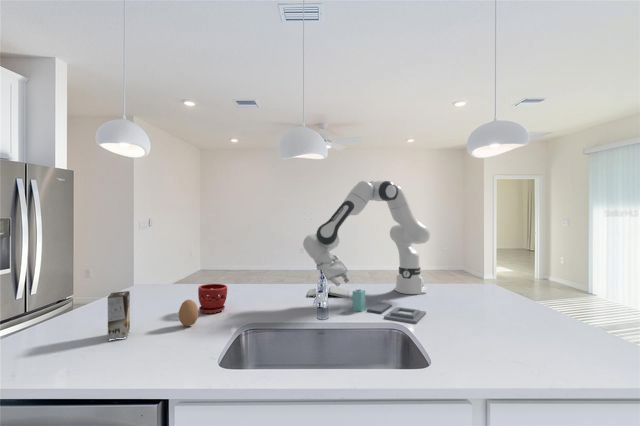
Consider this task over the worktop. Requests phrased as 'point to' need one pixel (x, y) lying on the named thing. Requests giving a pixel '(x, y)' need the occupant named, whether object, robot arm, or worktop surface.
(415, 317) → the plate
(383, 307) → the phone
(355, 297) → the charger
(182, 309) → the egg
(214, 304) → the plant pot
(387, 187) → the robot arm
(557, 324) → the worktop surface
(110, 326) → the coffee box
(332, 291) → the gadget
